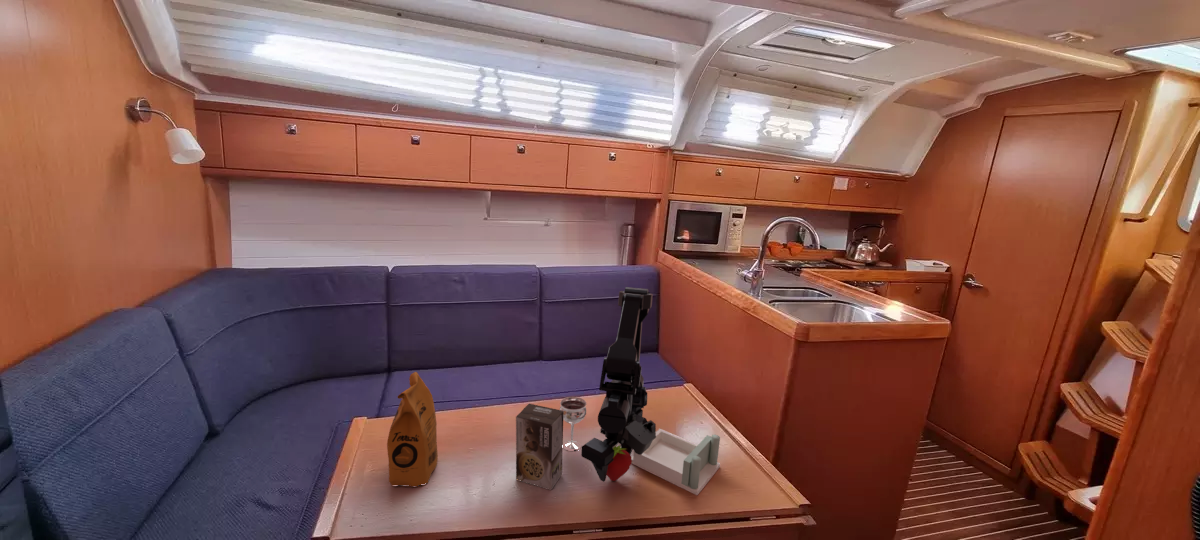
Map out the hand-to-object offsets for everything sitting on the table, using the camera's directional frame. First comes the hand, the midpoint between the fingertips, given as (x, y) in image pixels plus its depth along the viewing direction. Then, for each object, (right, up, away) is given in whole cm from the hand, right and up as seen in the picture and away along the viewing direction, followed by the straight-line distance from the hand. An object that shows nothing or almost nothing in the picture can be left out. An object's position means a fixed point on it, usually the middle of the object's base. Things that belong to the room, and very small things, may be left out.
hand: (614, 470), depth 103 cm
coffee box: (-17, -2, +1) cm, 17 cm away
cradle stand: (+15, -2, +7) cm, 17 cm away
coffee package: (-46, -1, 0) cm, 46 cm away
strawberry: (0, -3, +1) cm, 3 cm away
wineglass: (-11, 0, +13) cm, 17 cm away
